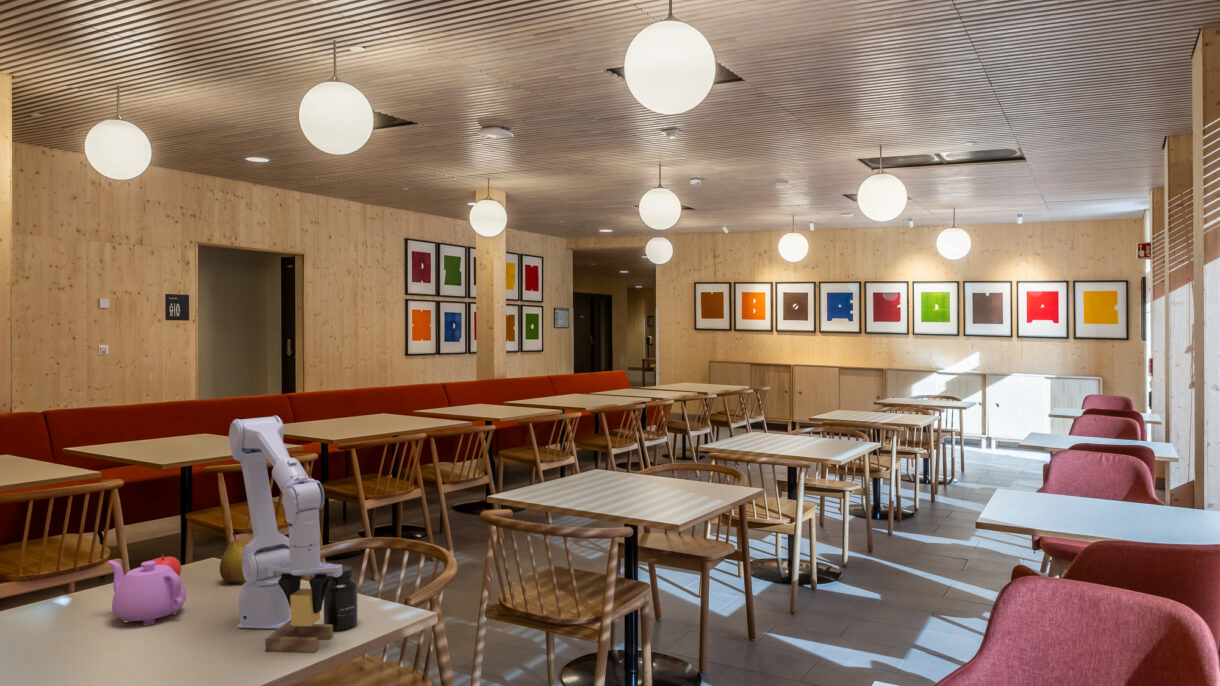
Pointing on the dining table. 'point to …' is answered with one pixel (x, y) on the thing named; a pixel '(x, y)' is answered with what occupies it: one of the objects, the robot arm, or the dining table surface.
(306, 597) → the block
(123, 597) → the teapot
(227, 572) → the fruit
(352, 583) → the supplement bottle
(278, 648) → the wooden u-shaped bracket
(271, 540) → the robot arm
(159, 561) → the apple
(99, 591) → the dining table surface
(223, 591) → the dining table surface
